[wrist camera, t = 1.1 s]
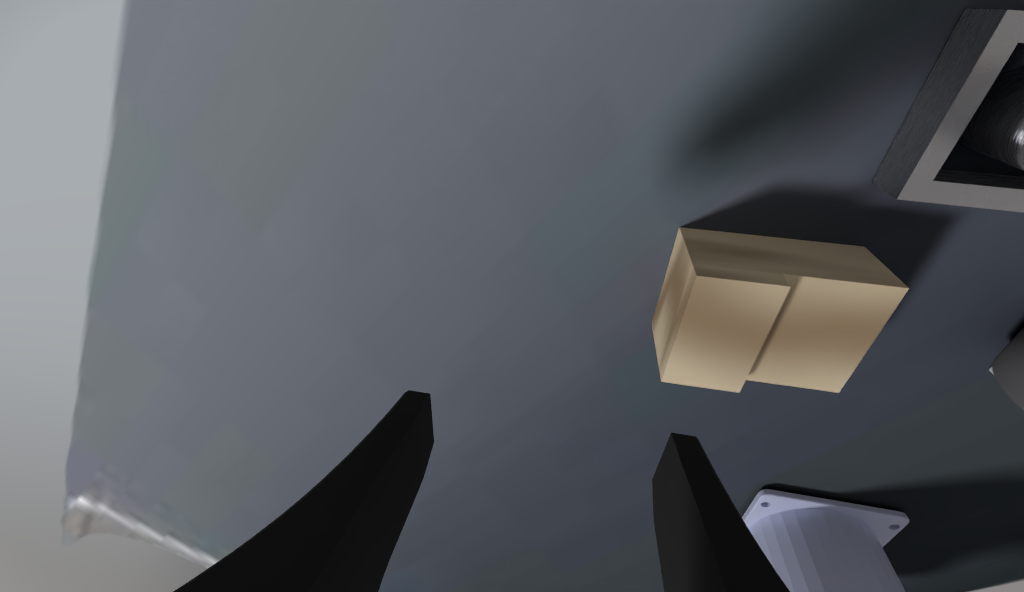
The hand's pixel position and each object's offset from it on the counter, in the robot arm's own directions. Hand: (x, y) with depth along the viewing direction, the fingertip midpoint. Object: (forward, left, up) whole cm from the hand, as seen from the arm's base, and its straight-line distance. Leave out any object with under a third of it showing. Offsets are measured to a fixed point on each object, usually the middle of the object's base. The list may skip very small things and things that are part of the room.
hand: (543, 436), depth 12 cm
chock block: (0, -8, -10) cm, 13 cm away
